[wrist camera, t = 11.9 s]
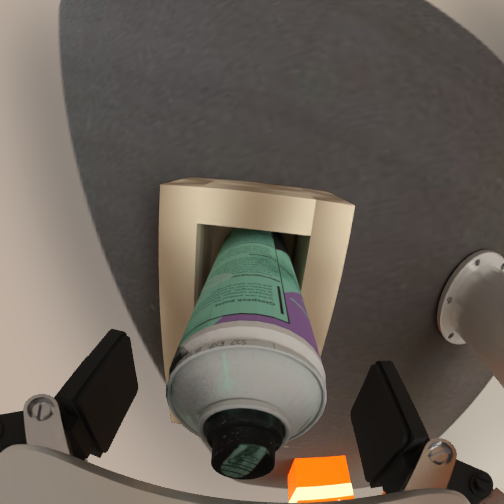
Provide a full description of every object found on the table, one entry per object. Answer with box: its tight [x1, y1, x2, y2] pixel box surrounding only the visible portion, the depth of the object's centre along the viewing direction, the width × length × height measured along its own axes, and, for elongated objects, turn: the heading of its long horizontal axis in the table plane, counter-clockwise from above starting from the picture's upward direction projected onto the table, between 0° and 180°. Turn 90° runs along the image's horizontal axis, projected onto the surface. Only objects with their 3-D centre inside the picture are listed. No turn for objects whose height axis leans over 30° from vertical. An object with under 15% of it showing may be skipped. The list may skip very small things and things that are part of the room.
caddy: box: [159, 177, 355, 424], centre depth 24 cm, size 12×22×8 cm, turn 174°
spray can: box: [166, 227, 327, 479], centre depth 15 cm, size 6×6×20 cm
